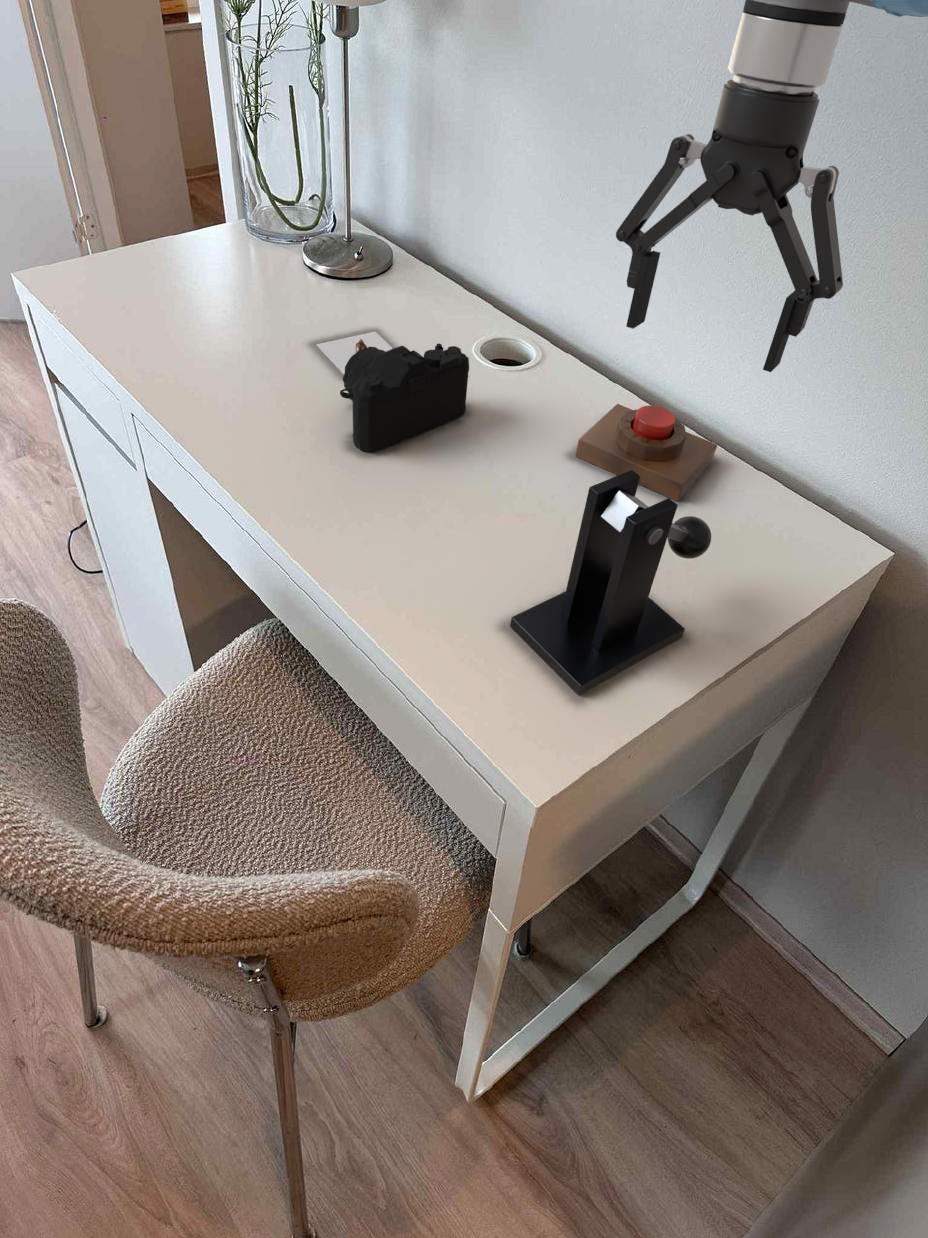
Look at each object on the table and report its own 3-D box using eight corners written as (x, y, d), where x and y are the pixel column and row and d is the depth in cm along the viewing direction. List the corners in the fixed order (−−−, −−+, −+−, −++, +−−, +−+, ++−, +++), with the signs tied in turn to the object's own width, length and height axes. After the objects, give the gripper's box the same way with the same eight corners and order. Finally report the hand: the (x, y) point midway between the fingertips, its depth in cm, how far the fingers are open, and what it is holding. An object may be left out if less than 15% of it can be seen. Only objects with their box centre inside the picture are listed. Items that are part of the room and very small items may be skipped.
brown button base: (711, 461, 95) (722, 429, 92) (677, 501, 90) (688, 469, 87) (613, 420, 99) (620, 388, 97) (574, 456, 94) (581, 424, 91)
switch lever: (670, 545, 78) (695, 512, 77) (700, 569, 76) (726, 535, 75) (589, 517, 67) (617, 478, 66) (621, 544, 65) (650, 504, 64)
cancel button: (677, 429, 93) (681, 414, 91) (661, 446, 90) (665, 431, 89) (642, 414, 94) (646, 400, 93) (626, 431, 92) (629, 416, 90)
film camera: (422, 376, 103) (426, 302, 96) (476, 416, 98) (483, 341, 91) (310, 416, 95) (306, 339, 89) (363, 461, 90) (362, 383, 84)
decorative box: (375, 331, 109) (375, 316, 108) (407, 362, 105) (407, 347, 103) (315, 344, 106) (315, 329, 104) (345, 377, 101) (345, 362, 100)
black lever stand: (611, 576, 81) (648, 441, 71) (682, 638, 76) (733, 503, 66) (509, 626, 76) (532, 488, 65) (578, 696, 71) (615, 559, 60)
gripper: (945, 110, 68) (843, 373, 81) (647, 53, 77) (599, 298, 90) (928, 120, 63) (821, 399, 76) (611, 58, 72) (565, 317, 85)
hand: (701, 345), depth 83 cm, fingers open, 13 cm apart
